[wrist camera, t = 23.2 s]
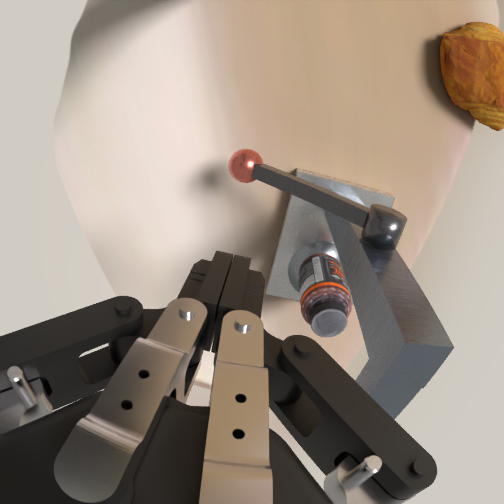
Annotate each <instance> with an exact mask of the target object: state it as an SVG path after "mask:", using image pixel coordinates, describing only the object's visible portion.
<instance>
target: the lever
mask: <svg viewBox="0 0 504 504" xmlns="http://www.w3.org/2000/svg"><path fill="white" fill-rule="evenodd" d="M229 171H230V174H231V175H232V177H233V178H234V179H236V180H237V181H239V182H242V183H250V182H253V181H255V180H256V179H257V180H259V181H262V182H264V183H266V184H269V185H271V186H273V187H276V188H278V189H280V190H282V191H285V192H287V193H289V194H291V195H294V196H296V197H298V198H300V199H303V200H305V201H307V202H309V203H311V204H314V205H316V206H318V207H320V208H322V209H324V210H327V211H329V212H331V213H333V214H335V215H337V216H339V217H341V218H343V219H345V220H347V221H350V222H352V223H354V224H356V225H358V226H360V227H362V228H363V230H362V233H361V236H362V238H363V239H364V240H365V241H367V242H368V243H370V244H372V245H373V246H376V247H378V248H381V249H384V250H395V249H396V247H397V244H398V242H399V239H400V237H401V234H402V232H403V229H404V227H405V224H406V221H407V218H406V217H405V216H404V215H403V214H401V213H400V212H398V211H396V210H394V209H392V208H389V207H387V206H384V205H380V204H371V207H370V208H368V207H366V206H364V205H362V204H359V203H357V202H355V201H353V200H350V199H348V198H346V197H344V196H341V195H339V194H337V193H335V192H332V191H330V190H328V189H325V188H323V187H321V186H318V185H316V184H313V183H311V182H309V181H306V180H304V179H301V178H299V177H296V176H294V175H291V174H289V173H286V172H284V171H281V170H279V169H276V168H273V167H271V166H268V165H265V164H263V161H262V158H261V157H260V155H259V154H258V153H257V152H255V151H253V150H250V149H242V150H239V151H237V152H235V153H234V154H233V155H232V157H231V158H230V161H229Z"/></svg>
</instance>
